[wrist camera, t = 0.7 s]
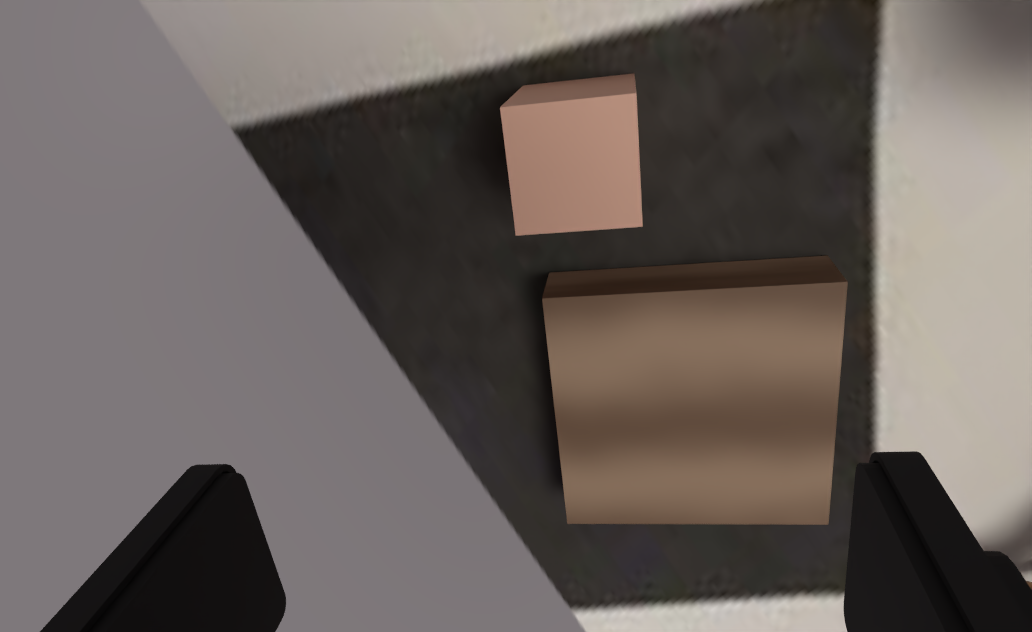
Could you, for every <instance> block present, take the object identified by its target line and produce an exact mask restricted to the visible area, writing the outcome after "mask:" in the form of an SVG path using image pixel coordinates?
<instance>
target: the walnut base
mask: <svg viewBox="0 0 1032 632" xmlns="http://www.w3.org/2000/svg"><path fill="white" fill-rule="evenodd" d="M847 283H848V282H847V280H846V279H845V278H844V277H843V275H842V274H841V273H840V271H839V270H838V269H837V267H836V266H835V265H834V263H833V262H832V261H831V259H830V258H829V257H828V256H812V257H796V258H779V259H763V260H747V261H730V262H714V263H697V264H681V265H665V266H648V267H632V268H616V269H599V270H583V271H566V272H550V273H549V275H548V279H547V282H546V286H545V290H544V293H543V297H542V302H543V311H544V320H545V329H546V338H547V346H548V355H549V364H550V373H551V382H552V391H553V400H554V408H555V417H556V426H557V435H558V444H559V453H560V462H561V471H562V479H563V488H564V497H565V506H566V515H567V524H823V525H828V522H829V510H830V497H831V485H832V472H833V459H834V447H835V434H836V422H837V409H838V396H839V384H840V371H841V358H842V346H843V333H844V321H845V308H846V295H847Z"/></svg>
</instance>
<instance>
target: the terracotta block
mask: <svg viewBox="0 0 1032 632" xmlns="http://www.w3.org/2000/svg"><path fill="white" fill-rule="evenodd" d="M500 112H501V120H502V128H503V136H504V144H505V152H506V160H507V168H508V176H509V184H510V192H511V200H512V208H513V216H514V224H515V232H516V236H518V235H532V234H546V233H560V232H574V231H588V230H602V229H616V228H630V227H643V224H642V203H641V182H640V160H639V139H638V118H637V97H636V86H635V77H634V73H633V74H624V75H614V76H605V77H596V78H587V79H578V80H569V81H560V82H551V83H541V84H532V85H523V86H522V87H521V88H520V89H519V90H518V91H517V92H516V93H515V94H514V95H513V96H512V97H510V98H509V99H508V100H507V101H506V102H505V103H504V104H503V105H502V106H501V107H500Z"/></svg>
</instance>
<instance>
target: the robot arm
mask: <svg viewBox="0 0 1032 632" xmlns="http://www.w3.org/2000/svg"><path fill="white" fill-rule="evenodd" d="M285 607H286V597H285V592H284V590H283V587H282V584H281V581H280V578H279V576H278V572H277V570H276V567H275V564H274V561H273V558H272V555H271V552H270V549H269V546H268V544H267V541H266V538H265V535H264V532H263V529H262V526H261V524H260V521H259V518H258V515H257V512H256V509H255V506H254V503H253V500H252V498H251V495H250V492H249V489H248V486H247V483H246V481H245V479H244V477H243V476H242V475H241V474H239V473H236V471H235V469H234V468H233V467H232V466H231V465H227V464H219V465H218V464H217V465H216V464H214V465H195V466H191V467H190V468H189V469H188V470H187V471H186V472H185V473H184V474H183V475H182V476H181V477H180V478H179V479H178V481H177V482H176V483H175V484H174V485H173V486H172V487H171V488H170V489H169V490H168V491H167V493H166V494H165V495H164V496H163V497H162V498H161V499H160V500H159V501H158V503H157V504H156V505H155V506H154V507H153V508H152V509H151V510H150V512H148V513H147V515H146V516H145V517H144V518H143V519H142V520H141V521H140V522H139V524H138V525H137V526H136V527H135V528H134V529H133V530H132V531H131V532H130V533H129V535H127V537H126V538H125V539H124V540H123V541H122V542H121V543H120V544H119V546H118V547H117V548H116V549H115V550H114V551H113V552H112V553H111V554H110V555H109V556H108V558H107V559H106V560H105V561H104V562H103V563H102V564H101V565H100V566H99V568H98V569H97V570H96V571H95V572H94V573H93V574H92V575H91V576H90V577H89V578H88V580H87V581H86V582H85V583H84V584H83V585H82V586H81V587H80V588H79V589H78V591H77V592H76V593H75V594H74V595H73V596H72V597H71V598H70V599H69V600H68V602H67V603H66V604H65V605H64V606H63V607H62V608H61V609H60V610H59V611H58V613H57V614H56V615H55V616H54V617H53V618H52V619H51V620H50V622H48V624H47V625H46V626H45V627H44V628H43V629H42V630H41V631H40V632H275V631H276V629H277V628H278V626H279V624H280V622H281V620H282V618H283V616H284V612H285ZM844 617H845V623H846V628H847V632H1032V589H1031V588H1030V587H1029V585H1028V584H1027V582H1026V581H1025V579H1024V578H1023V576H1022V575H1021V573H1020V572H1019V570H1018V569H1017V567H1016V566H1015V565H1014V563H1013V562H1012V561H1011V560H1010V559H1009V558H1008V556H1006V555H1005V554H1003V553H1001V552H999V551H983V549H982V548H981V546H980V545H979V543H978V542H977V540H976V538H975V537H974V535H973V534H972V532H971V531H970V529H969V527H968V526H967V524H966V523H965V521H964V519H963V518H962V516H961V515H960V513H959V512H958V510H957V508H956V507H955V505H954V504H953V502H952V501H951V499H950V497H949V496H948V494H947V493H946V491H945V490H944V488H943V486H942V485H941V483H940V482H939V480H938V479H937V477H936V475H935V474H934V472H933V471H932V469H931V468H930V466H929V464H928V463H927V461H926V460H925V458H924V457H923V456H922V455H921V453H919V452H875V453H873V454H872V455H871V457H870V461H869V463H859V464H858V465H857V467H856V473H855V484H854V495H853V506H852V518H851V529H850V540H849V551H848V562H847V574H846V585H845V596H844Z"/></svg>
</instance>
